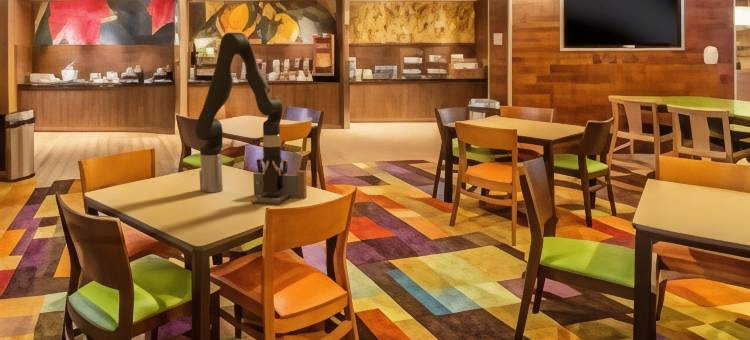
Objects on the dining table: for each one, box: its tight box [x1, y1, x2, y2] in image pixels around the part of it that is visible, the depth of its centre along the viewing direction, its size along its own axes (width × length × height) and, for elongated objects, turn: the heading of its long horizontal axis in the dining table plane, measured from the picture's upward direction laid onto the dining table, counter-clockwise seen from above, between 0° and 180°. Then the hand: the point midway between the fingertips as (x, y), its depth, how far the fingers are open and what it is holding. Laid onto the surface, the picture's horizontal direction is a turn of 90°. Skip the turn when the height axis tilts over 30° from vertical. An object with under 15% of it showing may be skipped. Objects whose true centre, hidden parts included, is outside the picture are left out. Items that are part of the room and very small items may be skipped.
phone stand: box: [263, 163, 283, 192], centre depth 269 cm, size 9×6×12 cm, turn 168°
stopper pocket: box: [252, 192, 292, 206], centre depth 269 cm, size 12×14×2 cm
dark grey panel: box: [253, 170, 308, 200], centre depth 276 cm, size 24×4×12 cm, turn 77°
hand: (273, 182), depth 269 cm, fingers closed on phone stand, 6 cm apart
